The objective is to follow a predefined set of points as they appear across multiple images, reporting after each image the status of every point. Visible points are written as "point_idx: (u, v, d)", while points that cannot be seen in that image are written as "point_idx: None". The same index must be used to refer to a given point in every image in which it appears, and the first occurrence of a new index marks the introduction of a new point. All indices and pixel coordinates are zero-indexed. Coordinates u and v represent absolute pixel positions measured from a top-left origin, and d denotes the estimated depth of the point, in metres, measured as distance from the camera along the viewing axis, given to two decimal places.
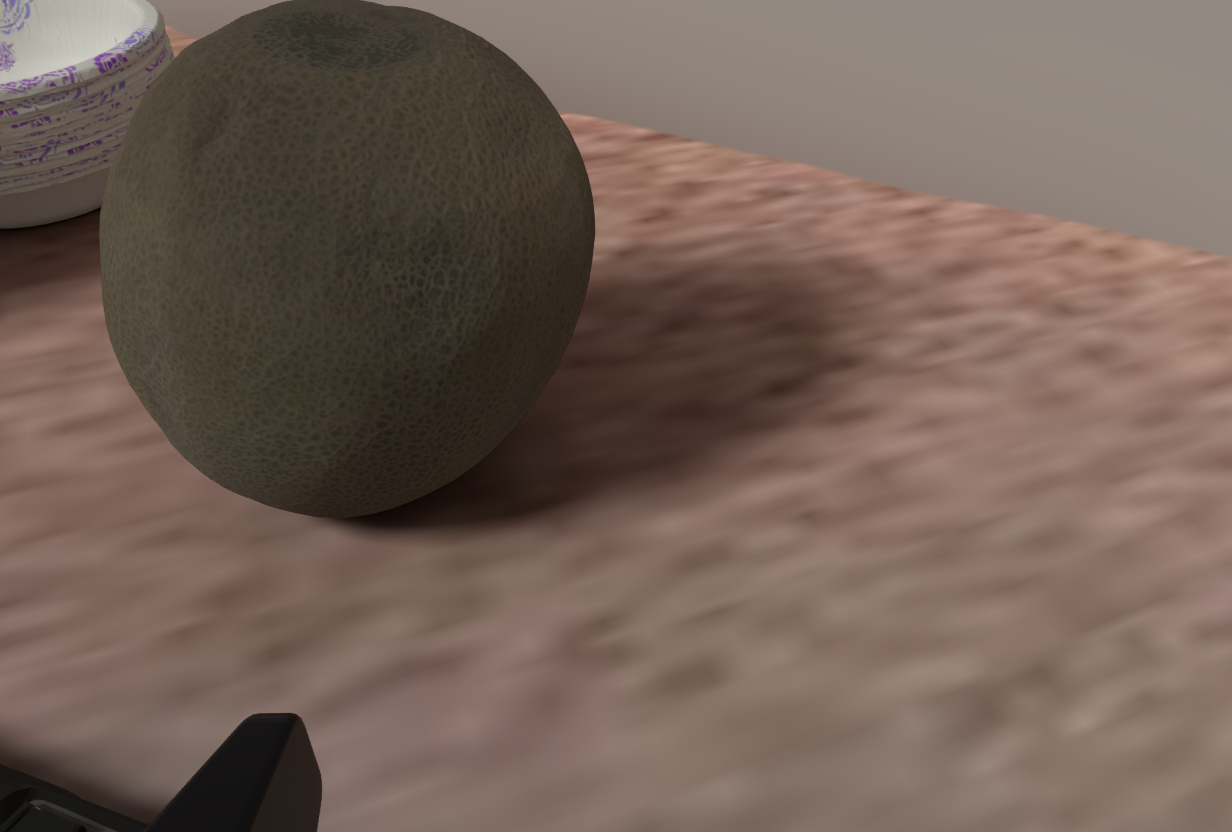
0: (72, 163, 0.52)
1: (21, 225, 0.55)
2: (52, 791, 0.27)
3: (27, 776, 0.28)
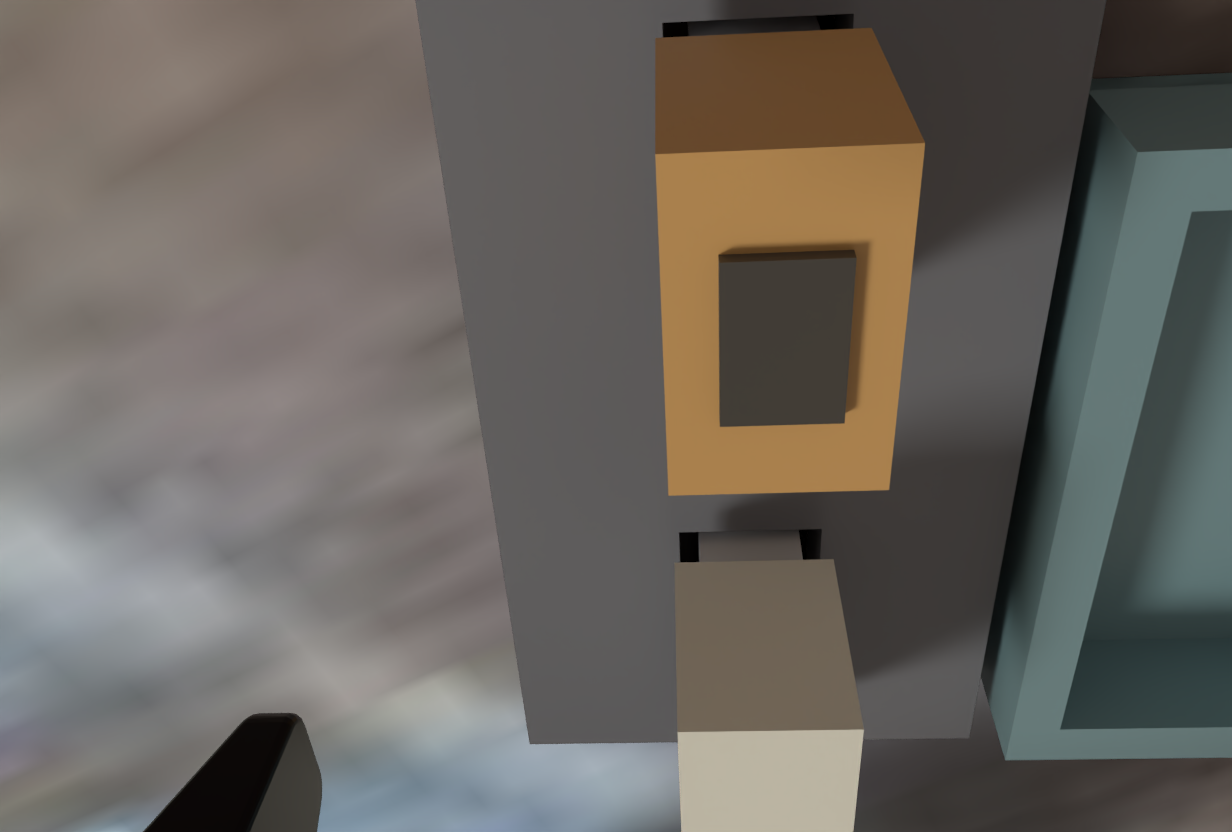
0: None
1: None
2: None
3: None
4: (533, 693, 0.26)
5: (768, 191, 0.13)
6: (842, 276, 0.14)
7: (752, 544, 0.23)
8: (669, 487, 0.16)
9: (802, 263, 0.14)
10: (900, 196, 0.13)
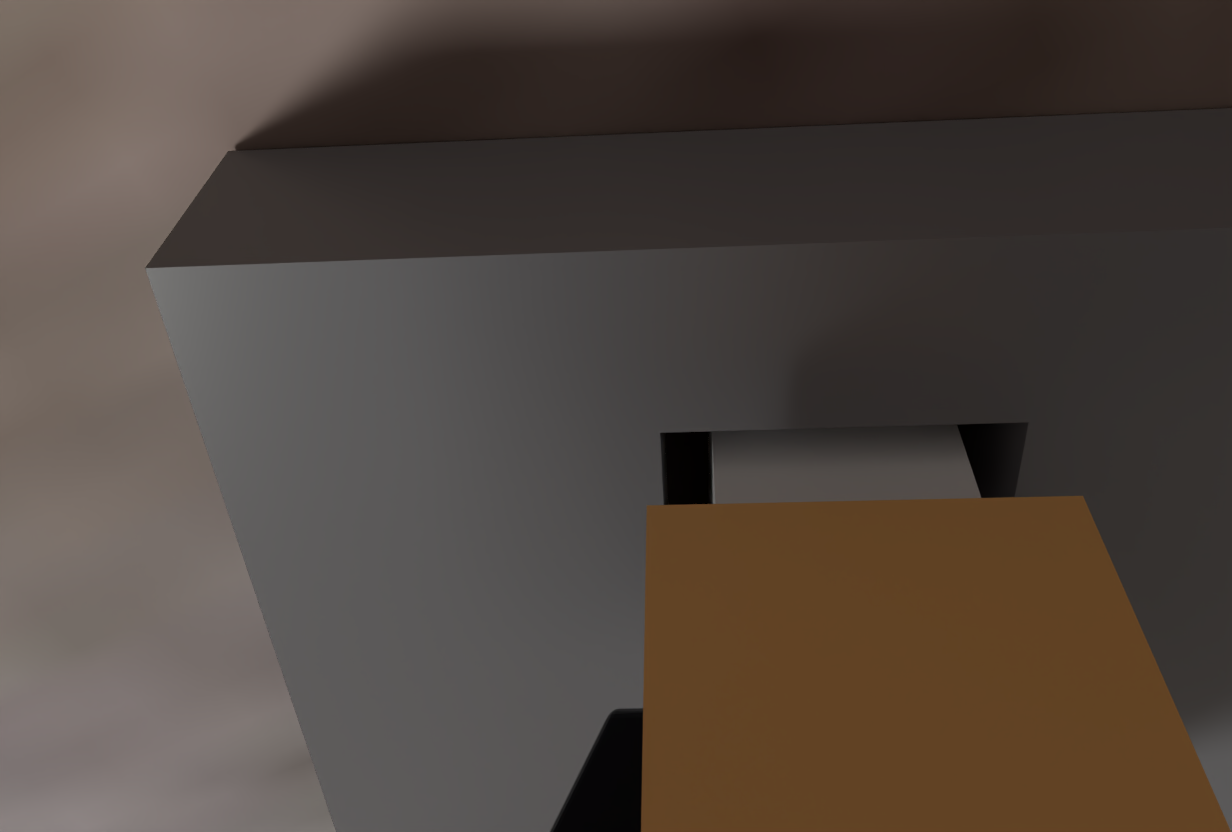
0: None
1: None
2: None
3: None
4: None
5: None
6: None
7: None
8: None
9: None
10: None
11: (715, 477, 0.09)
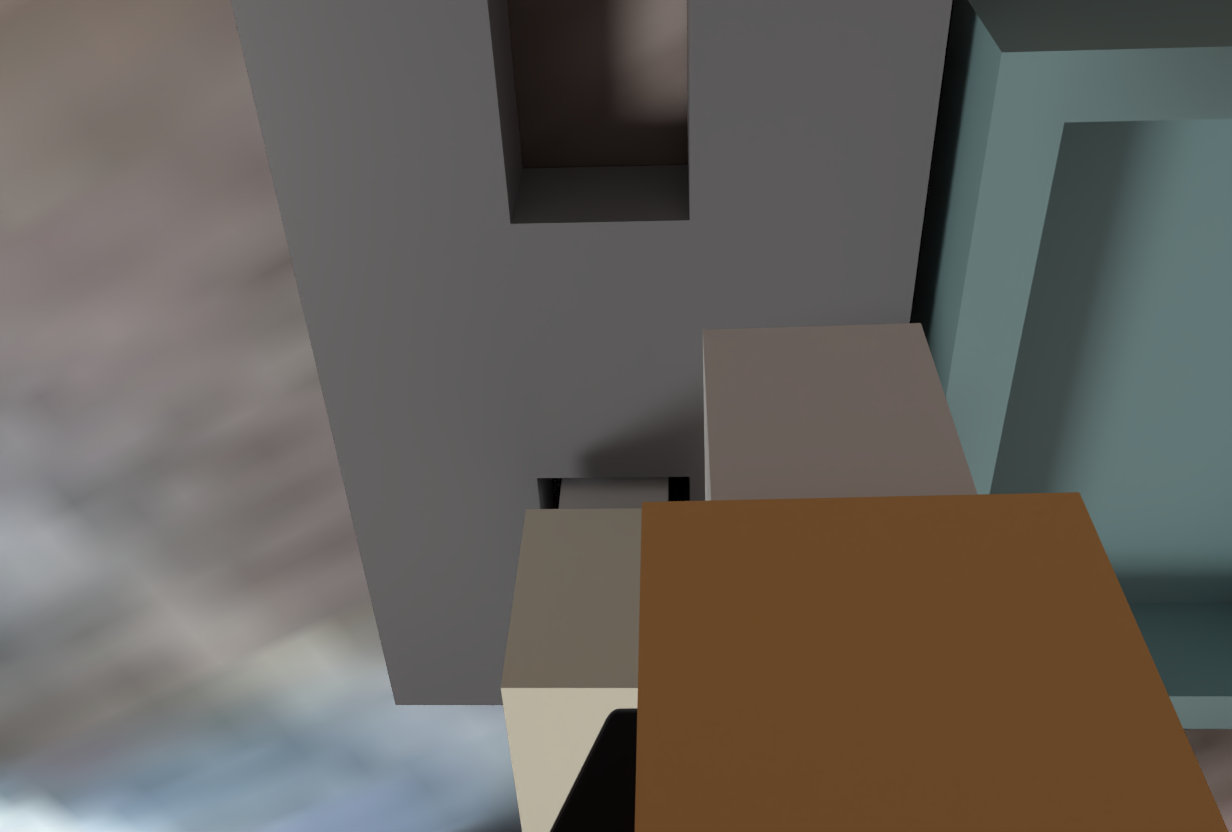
0: None
1: None
2: None
3: None
4: (395, 650, 0.24)
5: None
6: None
7: (616, 492, 0.22)
8: None
9: None
10: None
11: (712, 474, 0.09)
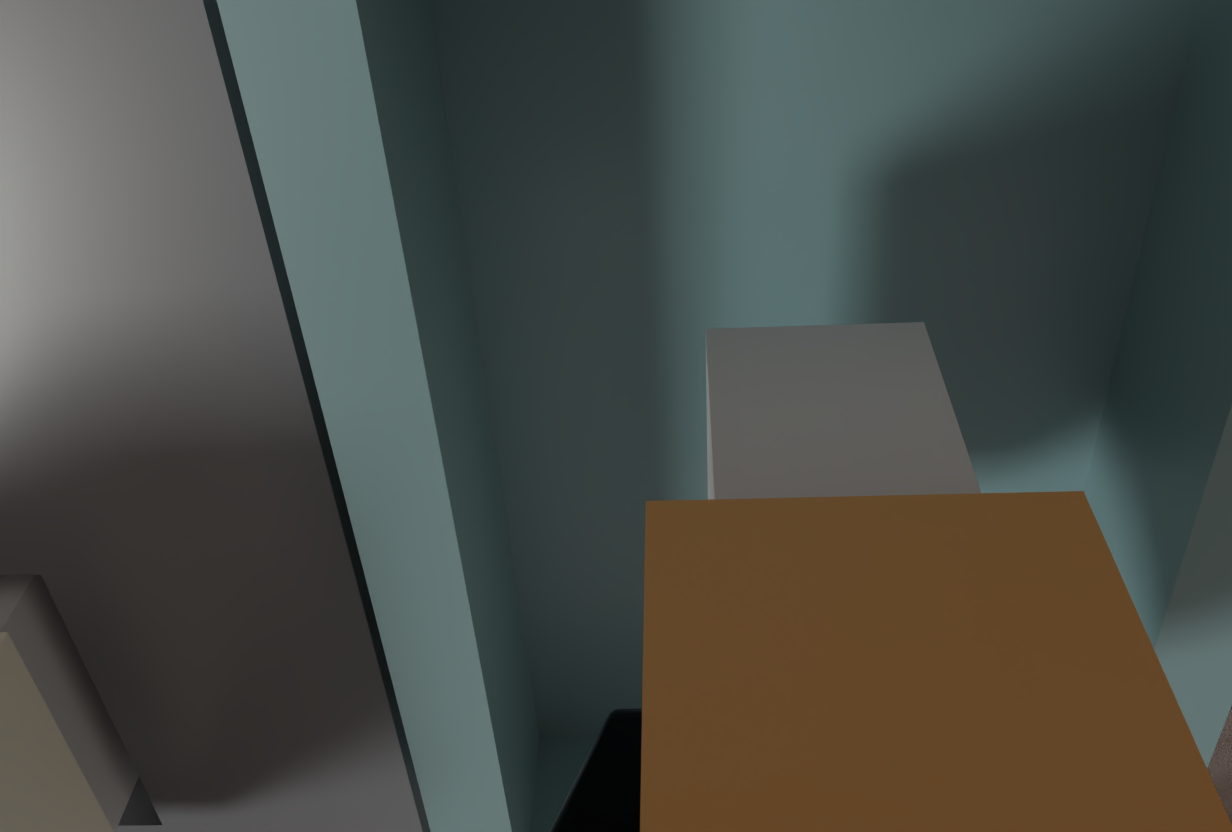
0: None
1: None
2: None
3: None
4: None
5: None
6: None
7: None
8: None
9: None
10: None
11: (715, 473, 0.09)
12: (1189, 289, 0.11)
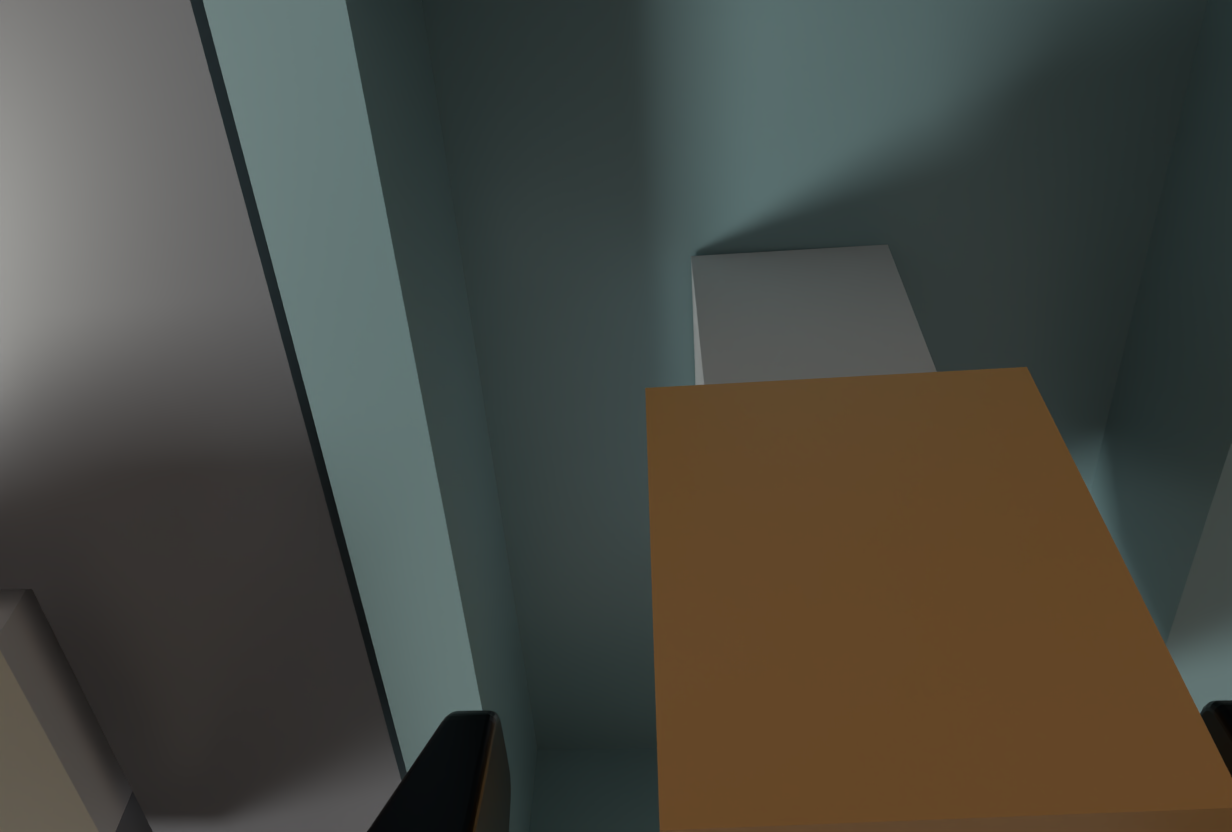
0: None
1: None
2: None
3: None
4: None
5: None
6: None
7: None
8: None
9: None
10: None
11: (704, 372, 0.10)
12: (1195, 302, 0.11)
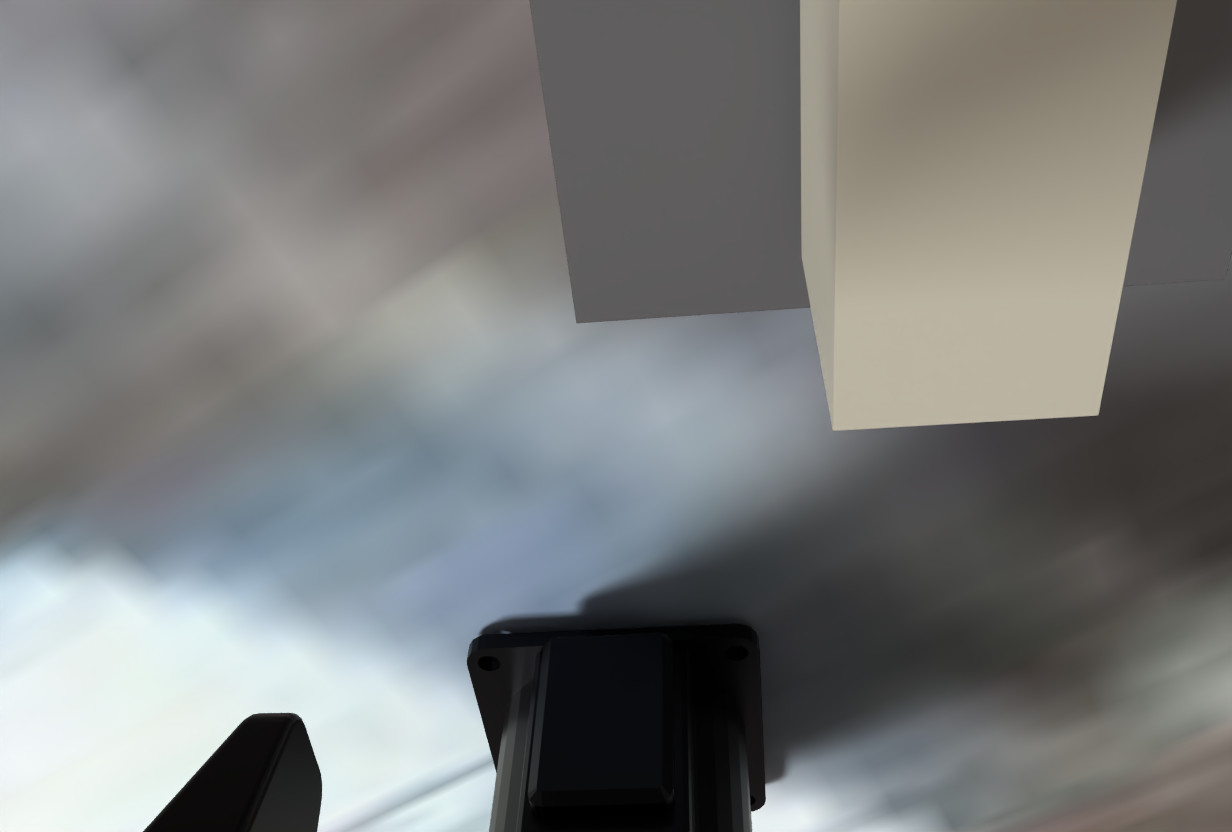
0: None
1: None
2: None
3: None
4: (579, 226, 0.18)
5: None
6: None
7: None
8: None
9: None
10: None
11: None
12: None
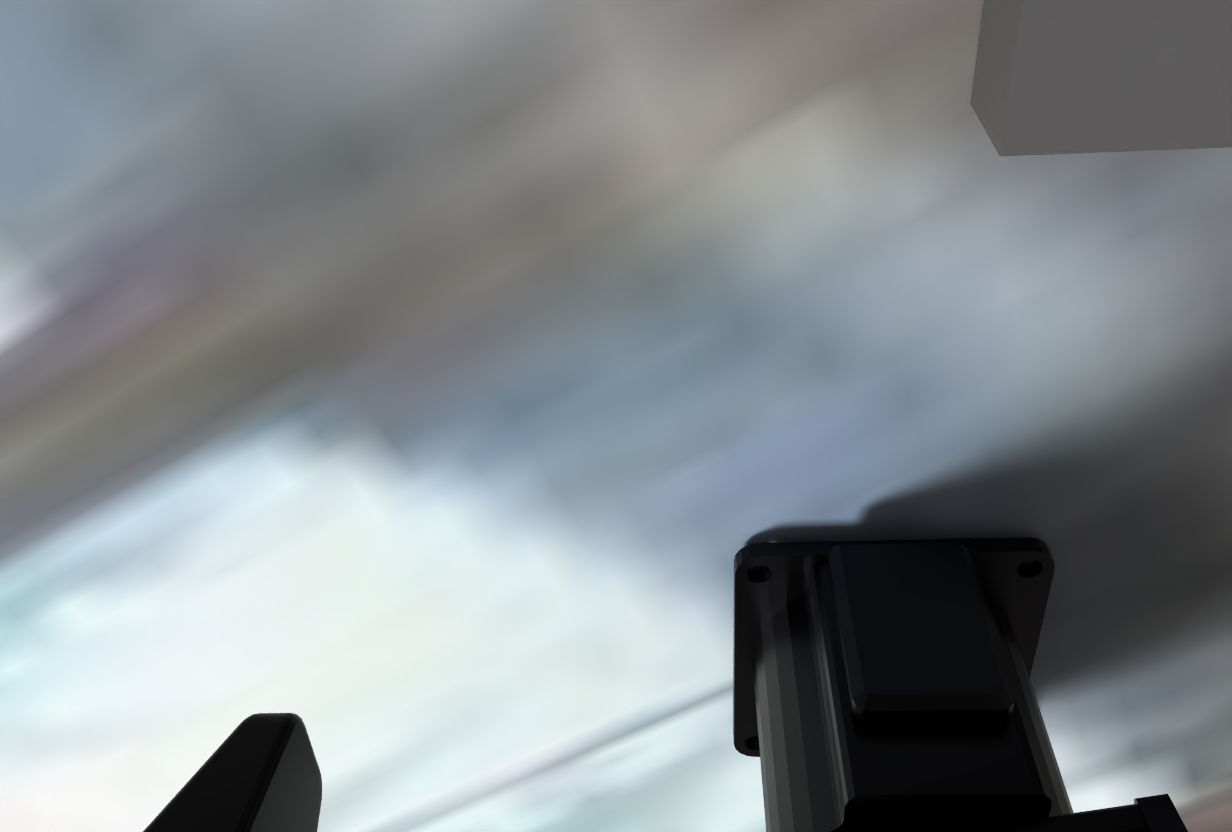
0: None
1: None
2: None
3: None
4: (1036, 37, 0.16)
5: None
6: None
7: None
8: None
9: None
10: None
11: None
12: None
